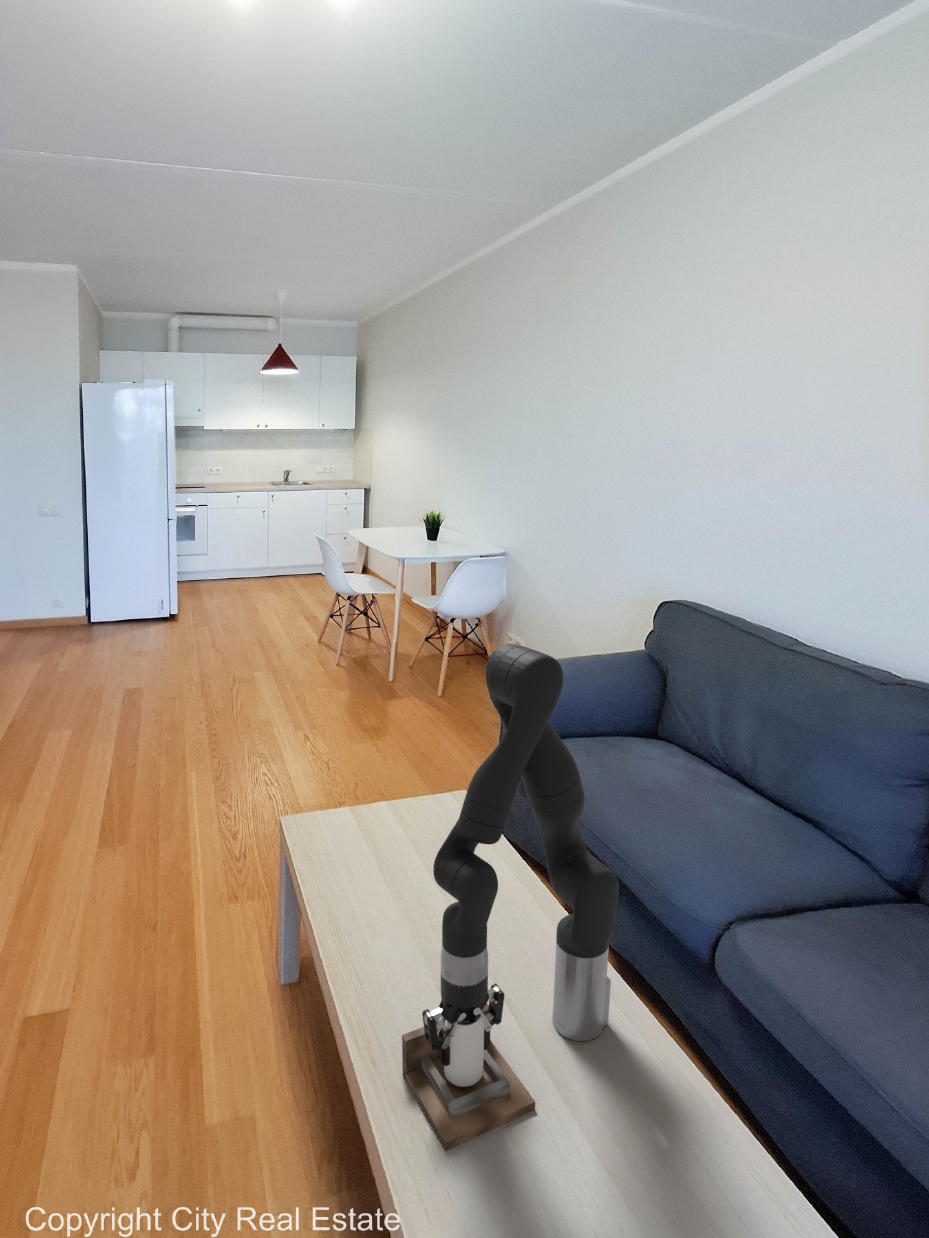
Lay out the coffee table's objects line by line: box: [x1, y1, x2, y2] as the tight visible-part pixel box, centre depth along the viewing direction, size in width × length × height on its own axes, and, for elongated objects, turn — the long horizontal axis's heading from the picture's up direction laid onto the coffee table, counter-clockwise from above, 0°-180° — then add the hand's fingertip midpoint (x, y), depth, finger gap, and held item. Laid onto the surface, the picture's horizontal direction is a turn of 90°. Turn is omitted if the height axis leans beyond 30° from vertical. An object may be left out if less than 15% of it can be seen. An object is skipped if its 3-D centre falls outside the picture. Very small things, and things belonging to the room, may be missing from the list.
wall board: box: [401, 1003, 536, 1152], centre depth 130 cm, size 16×16×8 cm
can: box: [444, 1015, 484, 1087], centre depth 131 cm, size 6×6×12 cm
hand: (463, 1053), depth 131 cm, fingers closed on can, 6 cm apart
